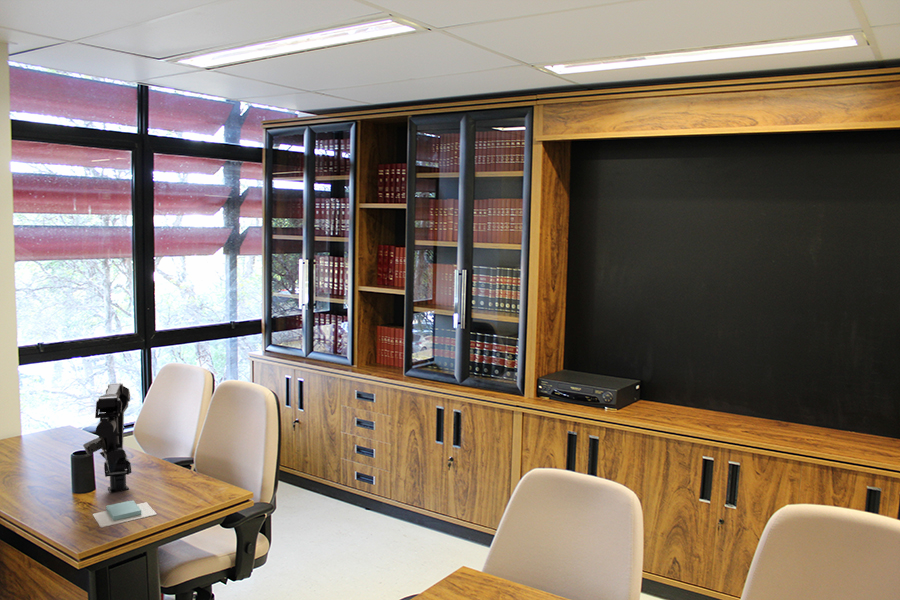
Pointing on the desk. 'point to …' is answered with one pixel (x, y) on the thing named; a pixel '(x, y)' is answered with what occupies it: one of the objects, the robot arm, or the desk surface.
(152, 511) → the mat
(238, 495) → the desk surface
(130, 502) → the tile
